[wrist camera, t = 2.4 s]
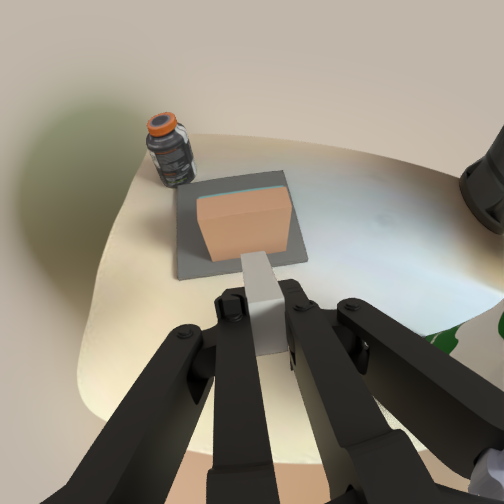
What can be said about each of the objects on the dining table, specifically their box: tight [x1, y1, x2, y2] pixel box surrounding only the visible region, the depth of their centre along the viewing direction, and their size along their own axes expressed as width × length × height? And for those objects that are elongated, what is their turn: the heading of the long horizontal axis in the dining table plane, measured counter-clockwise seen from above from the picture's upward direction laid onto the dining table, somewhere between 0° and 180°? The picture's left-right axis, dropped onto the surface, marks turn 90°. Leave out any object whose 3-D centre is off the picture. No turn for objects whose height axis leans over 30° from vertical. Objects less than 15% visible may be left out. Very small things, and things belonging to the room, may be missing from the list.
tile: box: [197, 185, 292, 262], centre depth 30 cm, size 9×3×9 cm, turn 98°
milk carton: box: [425, 299, 504, 391], centre depth 17 cm, size 9×9×20 cm
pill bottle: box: [146, 112, 197, 188], centre depth 36 cm, size 6×6×11 cm
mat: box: [177, 170, 308, 280], centre depth 36 cm, size 16×15×1 cm
